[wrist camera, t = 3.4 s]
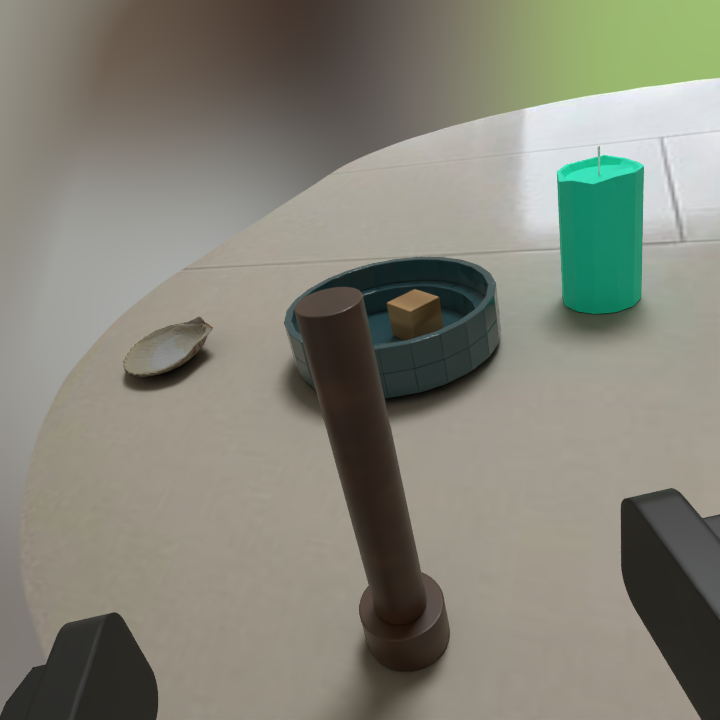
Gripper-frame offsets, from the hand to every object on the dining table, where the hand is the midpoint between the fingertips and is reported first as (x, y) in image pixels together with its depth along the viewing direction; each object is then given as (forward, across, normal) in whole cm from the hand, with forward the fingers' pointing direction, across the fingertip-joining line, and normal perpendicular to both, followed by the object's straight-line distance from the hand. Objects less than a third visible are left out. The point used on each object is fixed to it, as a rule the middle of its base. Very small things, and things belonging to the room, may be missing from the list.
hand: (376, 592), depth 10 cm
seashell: (+44, +16, +15) cm, 49 cm away
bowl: (+37, -3, +15) cm, 40 cm away
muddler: (+11, 0, +16) cm, 19 cm away
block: (+38, -5, +15) cm, 41 cm away
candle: (+38, -20, +16) cm, 46 cm away
